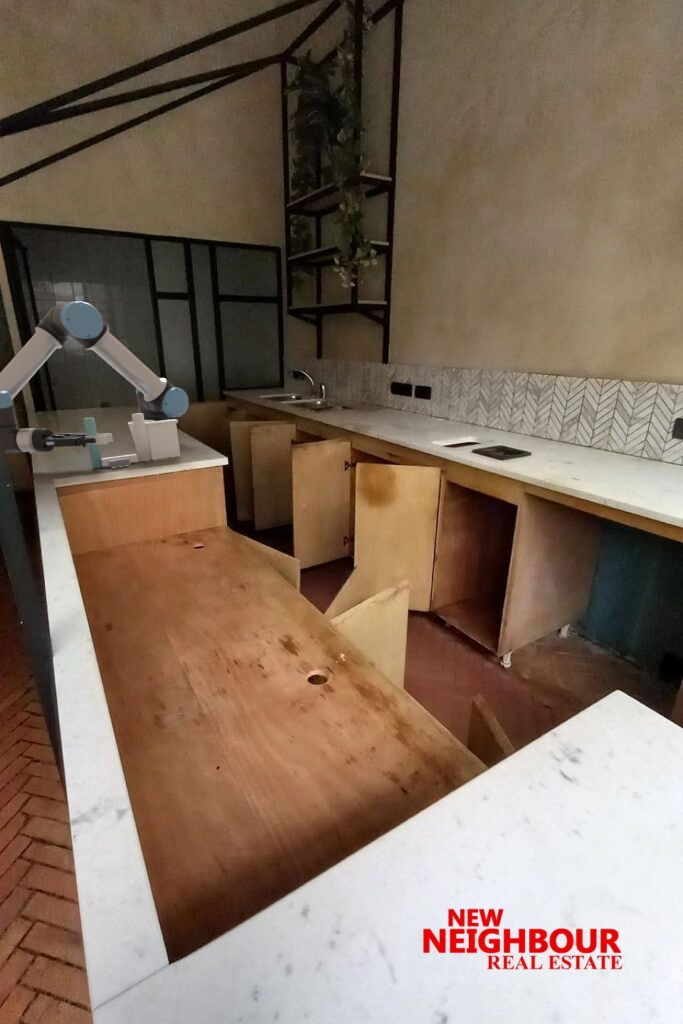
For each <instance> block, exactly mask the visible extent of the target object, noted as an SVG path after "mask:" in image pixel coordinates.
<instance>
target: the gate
mask: <svg viewBox="0 0 683 1024" xmlns="http://www.w3.org/2000/svg"><path fill="white" fill-rule="evenodd" d="M131 417H132V421H133V426H134V432H135V439H136V445H137V448H136V451H137V453H133V454H124V455H117V456H116V455H115V456H110V457H102V453H101V447H100V444H97V445H87V446H88V451H89V457H90V461H91V468H92V469H100V468H103V467H108V466H109V460H115V459H122V458H129V460H130V463H135V462H136V463H137V462H140V461H145V462H149V461H151V459H150V452H149V450H148V443H147V436H146V429H145V423H144V416H143V413H139V412H137V413H132V414H131ZM82 419H83V425H84V430H85V433H86V436H98V435H97V434H98V431H97V430H98V429H97V425H96V419H95V417H85V418H82ZM136 445H135V446H136ZM148 460H149V461H148ZM109 467H110V466H109Z"/></svg>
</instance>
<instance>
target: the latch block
mask: <svg viewBox="0 0 683 1024" xmlns="http://www.w3.org/2000/svg"><path fill="white" fill-rule="evenodd" d="M125 465H130V466H131V462H130V460H129V458H122V459H115V460H109V468H110V467H111V468H112V467H119V466H125ZM111 468H110V469H111Z"/></svg>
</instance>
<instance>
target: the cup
mask: <svg viewBox="0 0 683 1024" xmlns="http://www.w3.org/2000/svg"><path fill="white" fill-rule="evenodd" d="M145 422H154V420H144V423H145ZM127 425H128V427H129V430H130V433H131V435H132V439H133V441H134V445H135V449H137V445H136V439H135V432H134V426H133V420H132V421H129V422H127ZM145 429H146V426H145ZM146 436H147V431H146ZM147 443H148V438H147ZM148 450H149V445H148Z"/></svg>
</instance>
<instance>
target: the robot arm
mask: <svg viewBox="0 0 683 1024" xmlns="http://www.w3.org/2000/svg"><path fill="white" fill-rule="evenodd" d="M34 329H35V333H34V334H33V335H32V337H31V338H30V339H28V341H27V342H26V343H25V345H23V347H22V348H21V349H20V350H19V351H18V352H17V354H16V355H15V356H14V357H13V358H12V359H11V360H10V361H9V363H8V364H7V365H6V366H5V367H4V368H3V369H2V370H1V371H0V438H1V439H2V443H3V447H4V450H5V453H8V454H9V453H28V452H29V454H33V453H35V452H40V453H41V452H43V453H44V452H46V453H47V452H48V453H49V452H51V451H53V450H54V448H58V447H59V448H60V447H62V448H63V447H64V448H65V447H81V446H82V448H86V447H87V446H88V445H97V444H99V445H109V443H113V442H114V438H113V433H112V432H111V433H109V432H108V433H97V435H98V436H86V432H65V433H63V432H56V433H53V431H52V430H51V429H50V428H47V427H46V428H45V427H42V428H41V427H40V428H39V427H37V428H34V427H33V428H31V427H30V428H29V427H28V428H27V427H26V428H19V427H18V421H17V417H16V412H15V407H14V402H13V399H14V398H15V397H16V396H17V395H18V393H20V392H21V390H22V389H23V388H24V387H25V386H26V384H27V383H29V381H30V380H31V378H32V377H33V376H34V375H35V374H36V373H37V371H38V370H39V369H40V368H41V367H42V366H43V365H44V364H45V362H46V361H47V360H48V359H49V358H50V356H51V355H52V354H53V353H54V352H55V351H56V350H57V349H62V348H63V347H64V346H65V345H66V344H67V343H68V342H70V341H72V340H74V342H76V343H77V344H79V346H80V347H82V348H83V349H84V350H86V351H88V350H89V351H93V352H94V353H95V354H97V356H98V357H100V358H101V359H102V360H104V361H105V362H106V364H108V365H109V366H111V367H112V369H114V370H115V371H116V372H117V373H119V374H120V375H121V376H122V377H123V378H125V379H126V380H127V381H128V382H129V383H130V384H132V385H133V386H134V387H135V396H136V400H137V407H138V413H143V416H144V420H154V421H163V420H170V418H171V419H173V418H174V419H175V418H180V417H182V416H183V415H184V414H185V413H186V412H187V410H188V408H189V397H188V396H189V395H188V394H187V393H186V391H185V390H184V389H182V388H180V387H176V386H174V385H173V384H172V383H171V382H170V381H168V380H167V379H166V378H165V377H159V376H158V375H156V374H155V373H154V372H153V371H152V370H151V369H150V368H149V367H147V365H145V364H144V362H142V361H141V360H140V359H139V358H138V357H137V356H136V355H134V354H133V353H132V352H131V351H130V350H129V349H128V348H127V347H126V346H124V344H122V343H121V342H120V341H119V340H118V339H117V338H116V337H115V336H114V335H113V334H111V333H110V328H109V325H108V324H107V323H106V322H105V321H104V320H103V317H102V314H101V313H100V312H99V310H98V309H97V307H95V306H93V305H92V304H90V303H89V302H85V301H80V300H79V301H78V300H73V301H72V300H71V301H69V302H65V303H57V304H56V305H54V306H53V307H52V308H51V309H49V311H48V312H47V313H46V315H45V316H44V317H43V318H42V319H41V321H39V323H38V324H37V326H36V327H35V328H34ZM5 453H4V454H5Z"/></svg>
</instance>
